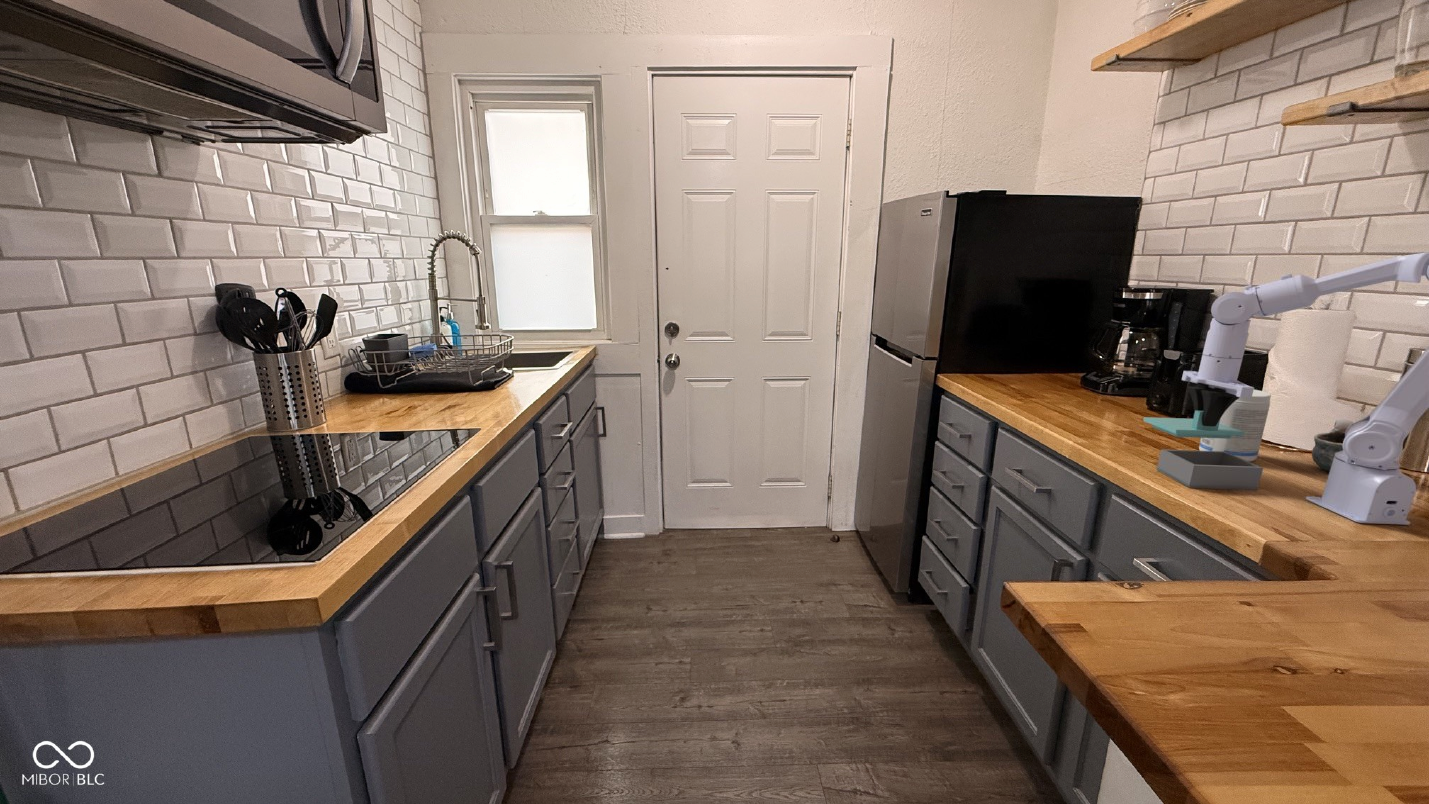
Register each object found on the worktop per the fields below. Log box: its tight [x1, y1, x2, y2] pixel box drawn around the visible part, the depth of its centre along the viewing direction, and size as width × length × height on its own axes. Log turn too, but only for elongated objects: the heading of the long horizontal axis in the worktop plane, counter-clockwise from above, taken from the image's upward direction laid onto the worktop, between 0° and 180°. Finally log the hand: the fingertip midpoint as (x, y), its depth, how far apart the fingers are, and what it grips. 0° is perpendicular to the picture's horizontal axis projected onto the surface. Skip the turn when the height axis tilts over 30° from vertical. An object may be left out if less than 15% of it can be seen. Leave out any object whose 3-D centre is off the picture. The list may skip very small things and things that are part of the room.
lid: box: [1143, 410, 1244, 439], centre depth 112 cm, size 9×12×5 cm
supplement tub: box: [1198, 389, 1272, 463], centre depth 120 cm, size 10×10×15 cm
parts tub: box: [1156, 449, 1264, 491], centre depth 108 cm, size 9×12×4 cm
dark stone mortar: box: [1311, 419, 1354, 473], centre depth 113 cm, size 10×12×10 cm
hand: (1205, 424), depth 109 cm, fingers closed on lid
